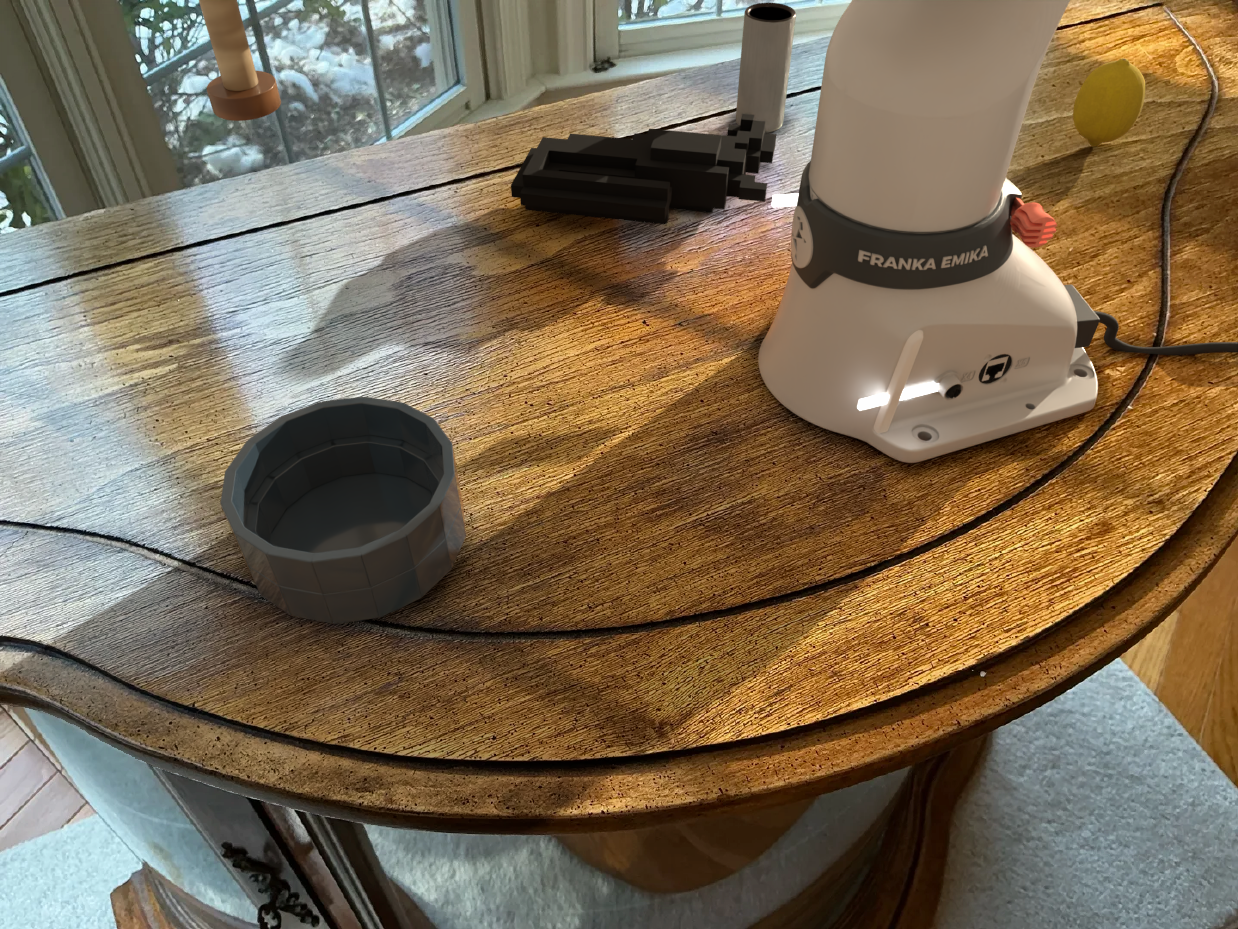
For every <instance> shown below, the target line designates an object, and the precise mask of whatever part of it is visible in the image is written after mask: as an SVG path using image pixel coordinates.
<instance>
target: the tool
mask: <svg viewBox="0 0 1238 929" xmlns="http://www.w3.org/2000/svg"><path fill="white" fill-rule="evenodd" d="M765 122H766V121H756V120H754V115H752V114H742V117H741V123H740V125H737V124H730V123H729V124H728V126H727V132H726V135H725V134H714V133H702V132H693V131H692V132H691V131H690V132H689V131H682V130H671V129H670V130H669V129H658V128H649V129H648V131H647V133H638V132H637V133H633V135H632V138H624V137H613V136H601V135H590V134H580V133H570V134H569V135H568V137H567V138H558V137H557V138H556V137H547V136H542V137H541V139H540V142H539V143H538V145H537V147H531V148H530V150H529V151H528V153H527V155H526V156H525V158H524V160H523V162H522V164H521V165H520V167H519V170H518V171H517V173H516V175H515V177H514V178H513V180H512V182H511V184H510V193H511V198H514V199H515V198H516V199H520V206H523V207H524V209H525V211H529V212H531V211H532V212H540V213H547V214H549V213H550V214H557V215H558V214H559V215H570V216H578V217H589V218H596V219H597V218H598V219H605V220H606V219H607V220H617V221H627V222H634V223H635V222H636V223H646V224H655V225H664V226H667V225H668V222H669V218H670V210H677V211H678V210H680V211H689V212H698V213H699V212H701V213H708V214H713V213H714V210H725V209H726V204H727V197H731V198H738V200H744V201H754V202H763V203H764V202H766V197H767V190H768V183H767V182H759V181H756V176H757V175H754V174H758V175H759V174H760V173H759V172H760V166H761V163H764V164H773V161H774V156H775V151H776V150H775V149H776V142H777V136H778V134H777V133H770V132H767V133H765ZM746 173H748V174H746Z"/></svg>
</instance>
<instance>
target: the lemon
mask: <svg viewBox="0 0 1238 929" xmlns="http://www.w3.org/2000/svg"><path fill="white" fill-rule="evenodd" d="M1145 97H1146V81H1145V77H1144V75H1143V74H1142V72H1141V70H1140V69H1139V68H1138V67H1137V66H1136V65H1135V64H1132V63H1131V62H1130V60H1129V59H1128V58H1124V57H1121V58H1119V59H1118V60H1112V61H1108V62H1105V63H1103V64H1101V65H1099V66H1098V67H1096V68H1094V70H1092V71H1091V72H1089V74H1088V75H1087V77H1086V78H1085V80H1084V81H1083V83H1082V85H1081V86H1080V88H1079V89H1078V92H1077V93H1076V96H1075V100H1074V103H1073V110H1072V119H1073V125H1074V127H1075V130H1076V131H1077V132H1078V134H1079V135H1080V136H1081V137H1082V138H1083V139H1086V140H1087V142H1088V143H1089V145H1090V146H1091V147H1098V146H1099V145H1101V144H1105V143H1110V142H1113V141H1116V140H1118V139H1120V138H1121V137H1123V136H1124V135H1126V134H1127V133H1128V132H1129V131H1130V130H1131V128H1133V126H1134V125H1135V124H1136V122H1137V120H1138V119H1139V117H1140V116H1141V112H1142V110H1143V107H1144V102H1145Z"/></svg>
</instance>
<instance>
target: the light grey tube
mask: <svg viewBox="0 0 1238 929" xmlns="http://www.w3.org/2000/svg"><path fill="white" fill-rule="evenodd" d="M796 16H797V13H796V10H795V9H794V8H793V7H791V6H789V5H787V4H783V3H780V2H758V3H754V4H751V5H749V6H748V7H746V8H745V10H744V15H743V24H742V37H741V38H742V39H741V49H740V50H741V52H740V61H739V64H740V65H739V73H738V74H739V76H738V85H737V86H738V87H737V98H736V109H735V110H736V111H735V123H736V125H740V123H741V117H742V114H752V115H754V120H756V121H766V122H765V133H772V132H775V131H777V130H779V129H780V128H781V127H783V125H784V119H785V112H786V103H787V94H788V86H789V79H790V78H789V77H790V70H791V62H792V53H793V45H794V35H795V27H796V18H797V17H796Z"/></svg>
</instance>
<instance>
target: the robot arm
mask: <svg viewBox="0 0 1238 929" xmlns="http://www.w3.org/2000/svg"><path fill="white" fill-rule="evenodd" d="M1070 2H1071V0H851V1H850V3H849V4H848V6H846V9H845V10H844V12H843V13H842V14H841V16H840V18H839V19H838V21H837V23H836V25H835V27H834V29H833V32H832V35H831V37H830V39H829V43H828V45H827V49H826V53H825V58H824V65H823V72H822V79H821V85H820V86H821V87H820V91H819V92H820V94H819V101H818V107H817V114H816V120H815V122H816V123H815V129H814V135H813V141H812V142H813V143H812V150H811V156H810V160H809V161H808V162H807V163H806V165H805V167H804V168H803V170H802V173H801V178H800V183H799V190H798V193H785V194H782V193H781V194H772V199H771V207H772V208H784V207H794V211H793V216H792V225H791V234H790V258H791V259H790V260H791V265H790V270H789V274H788V276H787V281H786V284H785V287H784V289H783V290H784V291H783V294H782V297H781V299H780V302H779V306H778V308H777V310H776V314H775V316H774V318H773V321H772V323H771V324H770V327H769V329H768V331H767V333H766V334H765V337H764V339H763V340H762V342H761V344H760V347H759V351H758V356H757V357H758V358H757V361H758V371H759V373H760V376H761V378H762V381H763V383H764V385H765V387H766V388H767V390H769V392H770V393H771V395H772V396H773V397H774V398H775V399H776V400H777V401H778V402H779V403H780V404H782V406H784V407H785V408H786V409H787V410H789V411H790V412H792V414H795V416H798V417H799V418H801V419H803V420H805V421H806V422H809V423H810V424H812V425H815V426H817V427H819V428H822V429H825V430H827V431H830V432H834V433H837V434H841V435H844V436H848V437H850V438H854V439H856V440H857V439H858V440H860V441H862V442H865V443H867V444H869V445H870V446H872V447H873V448H875V449H876V450H878V451H880V452H881V453H883V454H884V455H886V456H888V457H890V458H892V459H893V460H896V461H898V462H901V463H907V464H916V463H919V462H924V461H927V460H930V459H934V458H937V457H940V456H944V455H946V454H947V455H948V454H950V453H954V452H957V451H960V450H964V449H967V448H970V447H974V446H977V445H980V444H984V443H987V442H990V441H995V440H997V439H1001V438H1004V437H1007V436H1011V435H1014V434H1017V433H1021V432H1024V431H1027V430H1030V429H1034V428H1038V427H1041V426H1043V425H1044V426H1045V425H1047V424H1050V423H1054V422H1058V421H1061V420H1064V419H1067V418H1071V417H1075V416H1077V415H1080V414H1083V413H1084V414H1085V413H1086V412H1089V411H1092V410H1093V409H1094V407H1095V404H1096V402H1097V397H1098V394H1099V393H1098V392H1099V382H1098V381H1099V380H1098V375H1097V373H1096V370H1095V367H1094V364H1093V361H1092V360H1091V358H1090V357H1089V355H1088V352H1086V350H1085V348H1089V347H1090V345H1091V344H1092V341H1093V338H1094V336H1095V334H1096V331H1097V329H1098V327H1099V324H1102V325H1104V326H1105V327H1106V329H1105V331H1104V335H1103V341H1104V343H1105V345H1106V346H1107V347H1108V348H1110V349H1112V350H1114V351H1115V352H1119V353H1126V354H1128V353H1129V354H1133V353H1134V354H1149V355H1162V356H1182V357H1183V356H1192V355H1202V354H1203V355H1204V354H1219V353H1221V354H1222V353H1223V354H1224V353H1227V354H1228V353H1229V354H1230V353H1237V354H1238V341H1215V342H1201V343H1189V344H1181V345H1170V346H1169V345H1167V346H1153V347H1151V346H1138V345H1133V344H1129V343H1127V342H1124V341H1122V340H1120V339H1119V338H1118V337H1117V334H1118V332H1119V329H1120V325H1119V324H1120V323H1119V322H1118V320H1117V319H1116V318H1115V316H1113V315H1111V314H1110V313H1106V312H1103V311H1099V310H1093V308H1092V307H1091V306H1090V305H1089V303H1088V302H1087V301H1086V300H1085V299H1084V297H1083V296H1082V295H1081V294H1080V292H1079V291H1078V289H1077V288H1076V287H1075V286H1074V285H1073V284H1064V283H1063V282H1062V280H1061V279H1060V278H1059V276H1058V275H1057V274H1056V273H1055V272H1054V270H1053V269H1052V268H1051V267H1050V266H1049V265H1048V263H1047V262H1046V261H1045V260H1044V259H1042V258H1041V257H1040V256H1039V255H1038V254H1037V253H1036V252H1035V251H1034V250H1033V249H1034V248H1039V247H1042V246H1044V245H1046V244H1047V243H1048V240H1052V239H1053V238H1054V234H1055V233H1056V232H1057V227H1058V224H1057V222H1056V220H1055V219H1054V217H1052V216H1051V215H1050V214H1049V213H1047V212H1045V209H1044V207H1043V205H1042V204H1040V203H1039V202H1027V203H1024V201H1023V200H1022V197H1023V193H1022V192H1021V190H1020V189H1019V188H1018V187H1017V186H1016V185H1015V184H1014V183H1013V182H1012V181H1011V180H1010V179H1009V178H1007V175H1008V172H1009V169H1010V165H1011V162H1012V159H1013V155H1014V152H1015V149H1016V146H1017V142H1018V138H1019V136H1020V132H1021V129H1022V126H1023V123H1024V120H1025V116H1026V114H1027V109H1028V106H1029V104H1030V100H1031V97H1032V94H1033V90H1034V87H1035V85H1036V81H1037V79H1038V76H1039V73H1040V70H1041V68H1042V65H1043V63H1044V60H1045V57H1046V56H1047V55H1046V54H1047V53H1048V51H1049V50H1048V49H1049V47H1050V44H1051V42H1052V40H1053V38H1054V35H1055V34H1056V31H1057V29H1058V27H1059V24H1060V22H1061V20H1062V18H1063V17H1064V14H1065V12H1066V10H1067V8H1068V6H1069V4H1070ZM1013 232H1015V233H1017V234H1018V236H1019V238H1020V239H1019V238H1018V237H1017V236H1016V235H1014V234H1013ZM1031 248H1033V249H1031Z"/></svg>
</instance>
